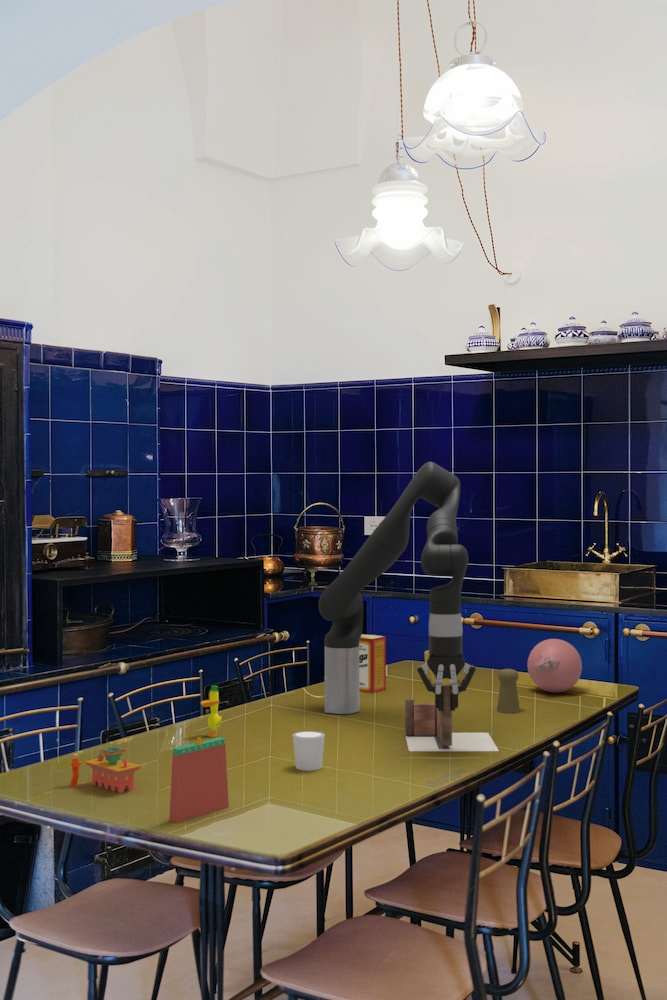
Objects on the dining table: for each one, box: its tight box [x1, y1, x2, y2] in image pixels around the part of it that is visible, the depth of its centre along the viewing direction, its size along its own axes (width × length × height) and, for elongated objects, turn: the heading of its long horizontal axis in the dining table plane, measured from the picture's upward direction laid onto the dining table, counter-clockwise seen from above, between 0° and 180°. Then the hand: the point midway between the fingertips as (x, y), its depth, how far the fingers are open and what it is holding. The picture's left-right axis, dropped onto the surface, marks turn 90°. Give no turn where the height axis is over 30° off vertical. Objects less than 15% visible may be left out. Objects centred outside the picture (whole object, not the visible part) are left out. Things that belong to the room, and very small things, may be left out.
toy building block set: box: [69, 736, 230, 823], centre depth 206 cm, size 12×35×14 cm, turn 48°
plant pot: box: [424, 649, 451, 686], centre depth 323 cm, size 10×10×10 cm
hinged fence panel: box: [437, 685, 453, 746], centre depth 246 cm, size 12×2×14 cm, turn 2°
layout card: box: [404, 732, 500, 752], centre depth 248 cm, size 20×18×1 cm
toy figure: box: [200, 685, 222, 738], centre depth 255 cm, size 7×4×12 cm, turn 141°
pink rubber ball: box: [526, 638, 583, 694], centre depth 307 cm, size 15×20×15 cm
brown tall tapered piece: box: [496, 668, 521, 714], centre depth 283 cm, size 6×6×11 cm
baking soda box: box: [359, 633, 387, 694], centre depth 314 cm, size 10×6×16 cm
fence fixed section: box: [404, 698, 437, 737], centre depth 254 cm, size 9×2×8 cm, turn 89°
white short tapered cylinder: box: [292, 730, 326, 772], centre depth 227 cm, size 7×7×7 cm
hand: (446, 709), depth 241 cm, fingers closed on hinged fence panel, 2 cm apart
